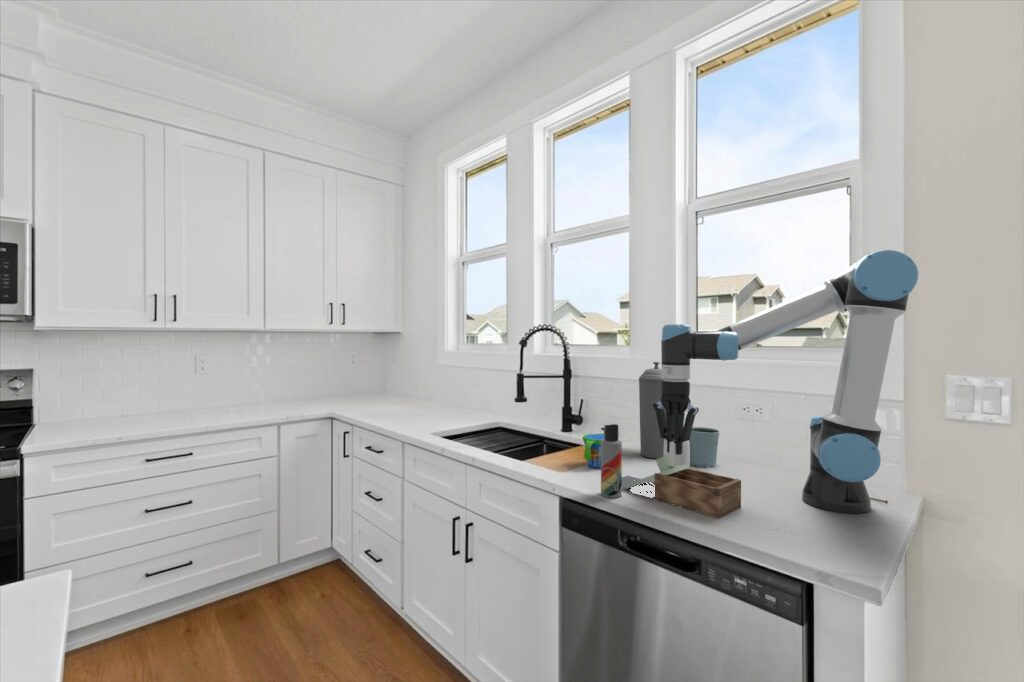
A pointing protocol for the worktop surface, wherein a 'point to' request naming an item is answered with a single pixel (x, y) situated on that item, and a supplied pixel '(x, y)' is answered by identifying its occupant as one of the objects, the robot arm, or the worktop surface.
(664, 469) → the lid
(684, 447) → the milk bottle
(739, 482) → the walnut box
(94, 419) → the worktop surface
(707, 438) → the teal cup
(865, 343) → the robot arm
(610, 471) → the lotion bottle
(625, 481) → the mat
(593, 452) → the snack cup
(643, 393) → the canister
